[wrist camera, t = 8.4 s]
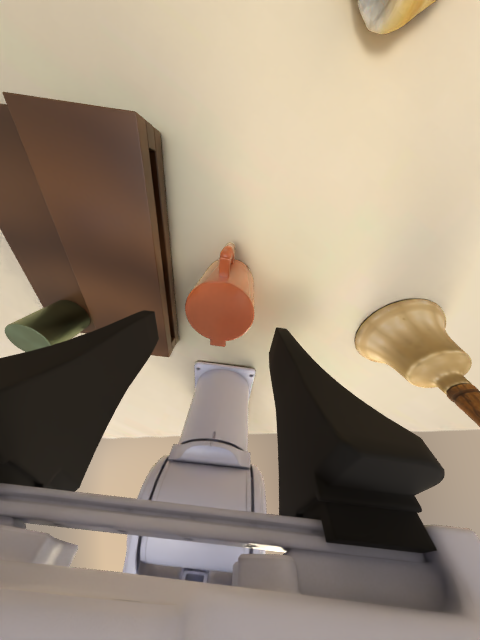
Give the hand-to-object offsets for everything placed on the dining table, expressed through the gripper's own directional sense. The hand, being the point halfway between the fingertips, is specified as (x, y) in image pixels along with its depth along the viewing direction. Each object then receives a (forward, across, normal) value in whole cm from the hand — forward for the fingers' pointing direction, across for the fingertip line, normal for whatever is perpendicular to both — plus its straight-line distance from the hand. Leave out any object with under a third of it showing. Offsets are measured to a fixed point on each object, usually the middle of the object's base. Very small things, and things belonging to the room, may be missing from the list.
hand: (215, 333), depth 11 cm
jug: (+8, 0, 0) cm, 8 cm away
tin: (+7, +16, +5) cm, 19 cm away
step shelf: (+8, +12, -1) cm, 15 cm away
